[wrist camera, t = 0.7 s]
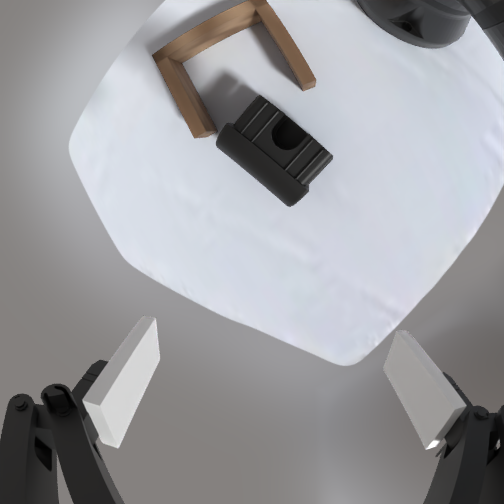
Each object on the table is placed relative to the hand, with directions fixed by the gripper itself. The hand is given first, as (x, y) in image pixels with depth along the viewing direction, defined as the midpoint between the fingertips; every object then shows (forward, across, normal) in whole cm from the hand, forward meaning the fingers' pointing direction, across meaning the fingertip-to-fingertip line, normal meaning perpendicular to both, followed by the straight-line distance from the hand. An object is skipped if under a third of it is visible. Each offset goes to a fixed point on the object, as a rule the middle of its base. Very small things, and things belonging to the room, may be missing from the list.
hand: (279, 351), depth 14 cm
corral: (+20, -5, +21) cm, 29 cm away
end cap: (+20, 0, +12) cm, 24 cm away
